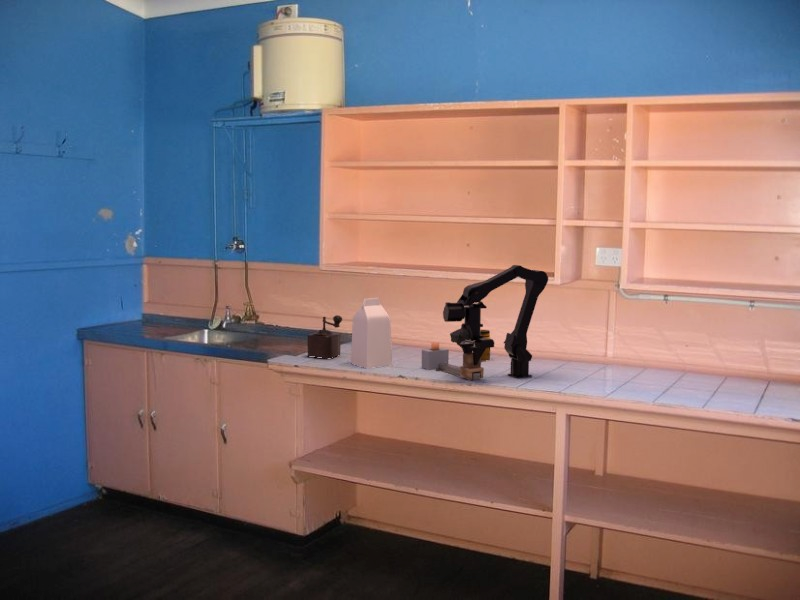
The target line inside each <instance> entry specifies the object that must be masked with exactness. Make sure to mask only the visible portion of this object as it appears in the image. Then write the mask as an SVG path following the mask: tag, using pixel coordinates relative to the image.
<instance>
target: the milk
mask: <svg viewBox="0 0 800 600" xmlns="http://www.w3.org/2000/svg"><path fill="white" fill-rule="evenodd" d="M351 328H352V329H351V330H352V331H351V349H350V351H351V353H350V364H351V363H352V364H355V365H358V366H357V367H359V366H361V367H360V368H363V367H365V368H364V369H366V368H369V369H373V368H372V367H377V368H379V367H378V366H385V367H387V366H386V365H392V366H393V365H394V363H393V349H392V348H393V347H392V344H393V343H392V327H391V318H390V315H389V314H388V313H387V311H386V309H385V308H384V307H383V305H382V303H381V300H380V298H379V297H369V298H364V299H363V302H362V305H361V306H360V307H359V309H357V311H356V312H355V313H354V315H353V317H352V327H351ZM352 364H351V365H352ZM355 365H354V366H355Z"/></svg>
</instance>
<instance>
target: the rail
mask: <svg viewBox="0 0 800 600" xmlns="http://www.w3.org/2000/svg"><path fill="white" fill-rule="evenodd" d="M435 371H436V372H444V373H447V374H450V375H454V376H457V377H460V366H457V365H455V364H450V363H448V364H447V363H439V364H438V368H437V369H435ZM479 380H481V378H480V373H479V372H472V379H471V381H479Z"/></svg>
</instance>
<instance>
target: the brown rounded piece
mask: <svg viewBox="0 0 800 600" xmlns="http://www.w3.org/2000/svg"><path fill="white" fill-rule="evenodd" d="M430 345H431V347H430V349H431V350H432V351H438V350H439V348H440V342H431V344H430Z"/></svg>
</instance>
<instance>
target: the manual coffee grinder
mask: <svg viewBox="0 0 800 600" xmlns="http://www.w3.org/2000/svg"><path fill="white" fill-rule="evenodd" d="M332 320H333V322H329V321H327V318H326V316H323V317H322V322H323V323H322V329H319V330H318V331H316V332H314V333H310V334H307V357H308V356H315V357H322V358H332V357H335V356H338V355H340V354H341V339H342V338H341V333H335V332H332V331H331V330H329V329H326V324H327V325H330V326H332V327H334V328H335V329H336V328H339V327H341V326H340V323H342V321H343V317H342V315H341V316H340V315H339V314H338V315H337V314H336V315H334V316H333V317H332ZM340 356H341V355H340ZM338 357H339V356H338ZM335 358H336V357H335ZM332 359H333V358H332Z"/></svg>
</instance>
